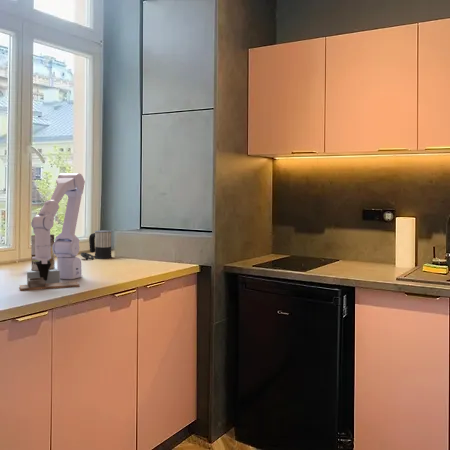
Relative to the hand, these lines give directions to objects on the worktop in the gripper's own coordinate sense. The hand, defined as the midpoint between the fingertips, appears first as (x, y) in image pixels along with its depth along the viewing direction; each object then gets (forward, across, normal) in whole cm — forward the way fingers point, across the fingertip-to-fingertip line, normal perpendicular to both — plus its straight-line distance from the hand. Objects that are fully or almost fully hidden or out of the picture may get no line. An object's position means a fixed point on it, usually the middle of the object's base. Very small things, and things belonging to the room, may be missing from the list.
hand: (43, 279), depth 207 cm
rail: (+1, 0, 0) cm, 1 cm away
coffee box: (+2, -39, +3) cm, 39 cm away
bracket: (+1, +9, +2) cm, 9 cm away
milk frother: (+2, -69, +32) cm, 76 cm away
